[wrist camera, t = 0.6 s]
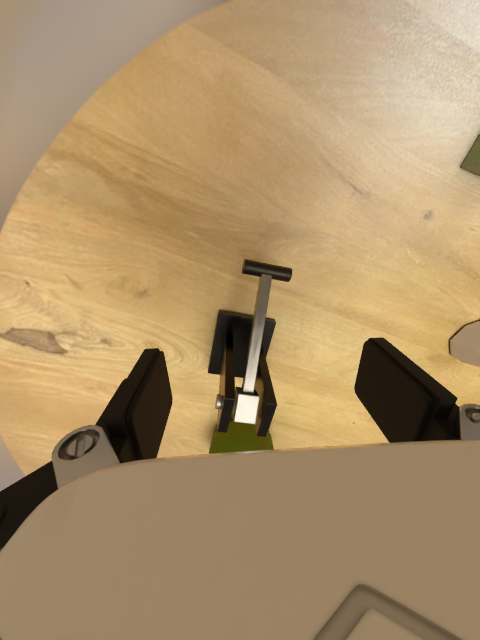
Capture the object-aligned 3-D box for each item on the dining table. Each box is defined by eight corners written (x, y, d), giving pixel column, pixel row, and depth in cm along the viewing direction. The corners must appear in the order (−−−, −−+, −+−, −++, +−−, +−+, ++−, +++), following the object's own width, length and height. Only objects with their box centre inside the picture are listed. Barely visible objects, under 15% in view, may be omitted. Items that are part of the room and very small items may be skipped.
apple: (227, 401, 40) (227, 464, 30) (282, 421, 42) (298, 485, 32) (200, 443, 44) (192, 511, 34) (252, 459, 46) (258, 526, 36)
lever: (242, 262, 26) (246, 256, 23) (287, 270, 26) (294, 266, 24) (218, 411, 25) (219, 420, 23) (264, 416, 26) (269, 426, 24)
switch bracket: (218, 309, 33) (212, 371, 20) (274, 319, 34) (301, 383, 21) (208, 368, 37) (198, 449, 24) (258, 375, 38) (273, 457, 25)
